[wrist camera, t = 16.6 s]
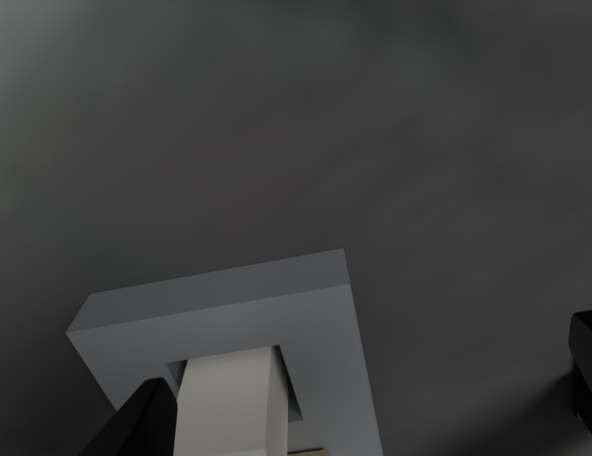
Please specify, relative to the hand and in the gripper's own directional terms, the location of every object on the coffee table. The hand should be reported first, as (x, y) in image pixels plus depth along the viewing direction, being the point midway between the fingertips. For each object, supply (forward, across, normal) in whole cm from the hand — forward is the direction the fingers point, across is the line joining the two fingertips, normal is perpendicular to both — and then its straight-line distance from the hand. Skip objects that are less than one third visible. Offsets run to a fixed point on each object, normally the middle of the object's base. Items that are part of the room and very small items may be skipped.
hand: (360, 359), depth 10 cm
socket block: (+12, +7, +15) cm, 20 cm away
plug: (+12, +7, +11) cm, 18 cm away
